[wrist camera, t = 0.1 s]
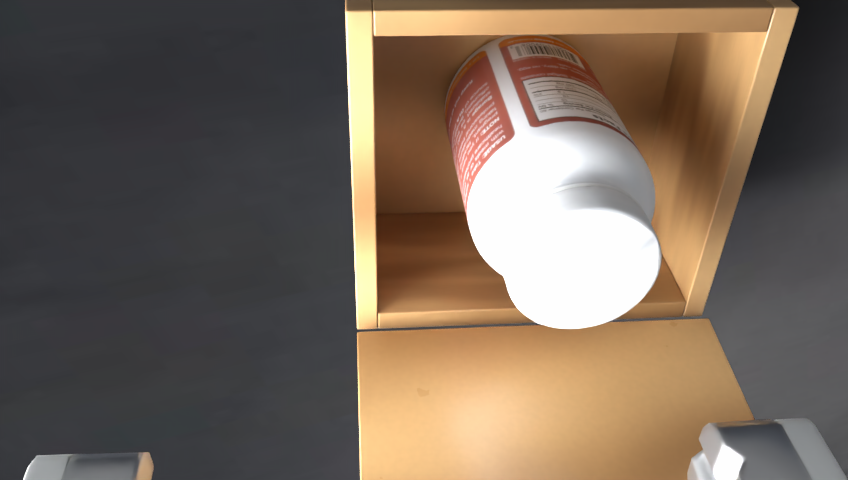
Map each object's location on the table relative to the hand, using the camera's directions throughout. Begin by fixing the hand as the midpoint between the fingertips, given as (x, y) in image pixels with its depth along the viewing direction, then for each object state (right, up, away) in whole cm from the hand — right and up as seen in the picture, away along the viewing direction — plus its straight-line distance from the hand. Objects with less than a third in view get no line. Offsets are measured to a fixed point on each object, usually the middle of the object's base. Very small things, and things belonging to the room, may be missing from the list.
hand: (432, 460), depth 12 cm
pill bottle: (+4, +9, +21) cm, 23 cm away
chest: (+4, +9, +21) cm, 24 cm away
